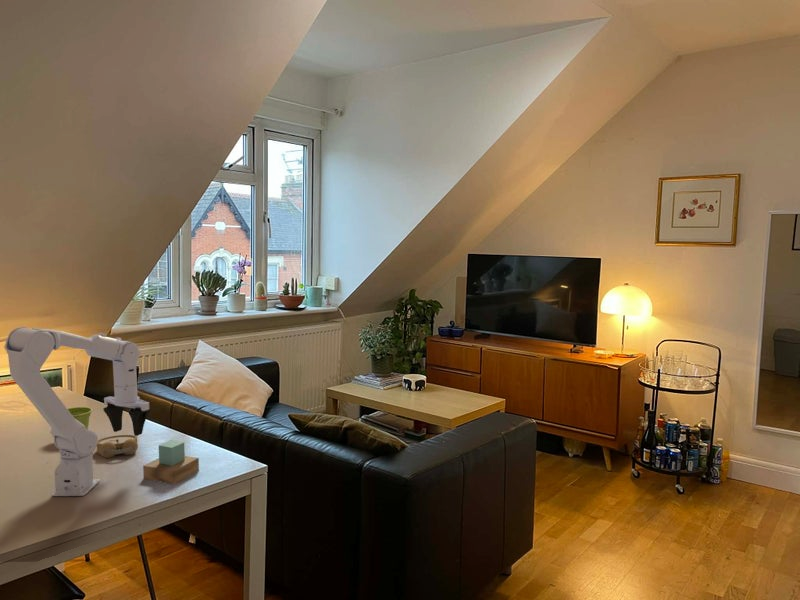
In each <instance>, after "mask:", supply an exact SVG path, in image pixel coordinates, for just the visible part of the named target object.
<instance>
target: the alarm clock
mask: <svg viewBox="0 0 800 600" xmlns="http://www.w3.org/2000/svg"><path fill="white" fill-rule="evenodd" d="M138 448H139V445H138V436H135V435H134V434H119V435H116V434H115V435H111V436H107V437H103V438H100V439H98V444H97V447H96V453H97V454H98V455H101V457H102V458H105V459H111V458H113V457H115V455H121V454H124V456H125V455H126V456H131V454H132V455H133V454H134V455H135V454H136V452H137V450H138ZM110 457H111V458H110Z"/></svg>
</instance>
